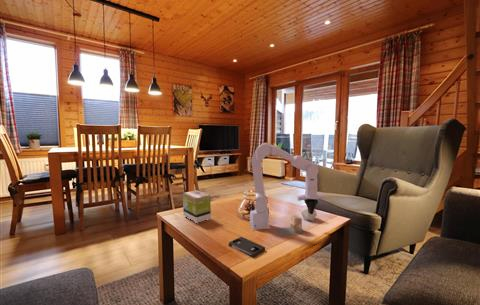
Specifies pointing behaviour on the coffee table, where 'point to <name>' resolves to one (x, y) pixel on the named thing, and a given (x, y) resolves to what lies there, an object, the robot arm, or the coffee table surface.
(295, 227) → the maple block
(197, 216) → the tea box
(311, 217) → the die
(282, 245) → the coffee table surface
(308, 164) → the robot arm
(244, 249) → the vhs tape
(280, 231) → the slate mat
